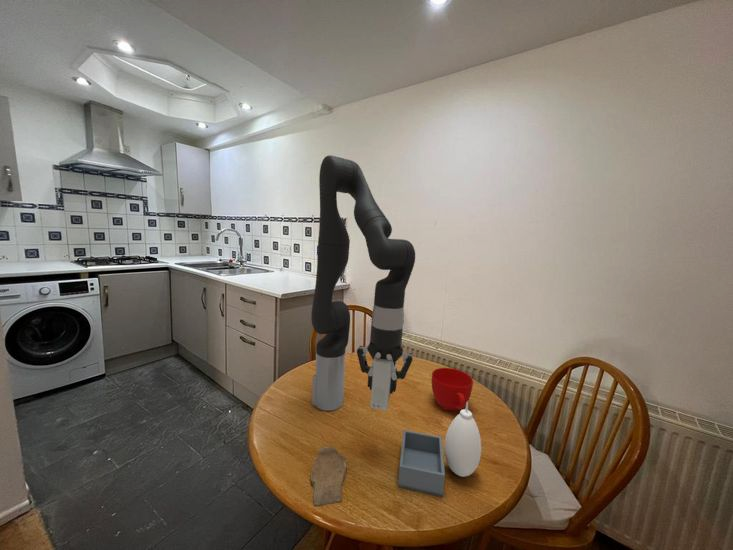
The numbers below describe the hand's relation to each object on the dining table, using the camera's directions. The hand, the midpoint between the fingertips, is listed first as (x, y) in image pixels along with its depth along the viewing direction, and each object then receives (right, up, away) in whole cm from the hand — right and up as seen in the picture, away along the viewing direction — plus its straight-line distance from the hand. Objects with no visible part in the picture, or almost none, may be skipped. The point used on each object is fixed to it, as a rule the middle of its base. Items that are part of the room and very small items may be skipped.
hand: (381, 389), depth 69 cm
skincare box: (0, -4, 0) cm, 4 cm away
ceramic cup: (+24, -15, +22) cm, 36 cm away
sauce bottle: (+18, -18, -3) cm, 26 cm away
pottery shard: (-12, -18, -5) cm, 22 cm away
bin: (+9, -18, -3) cm, 20 cm away
